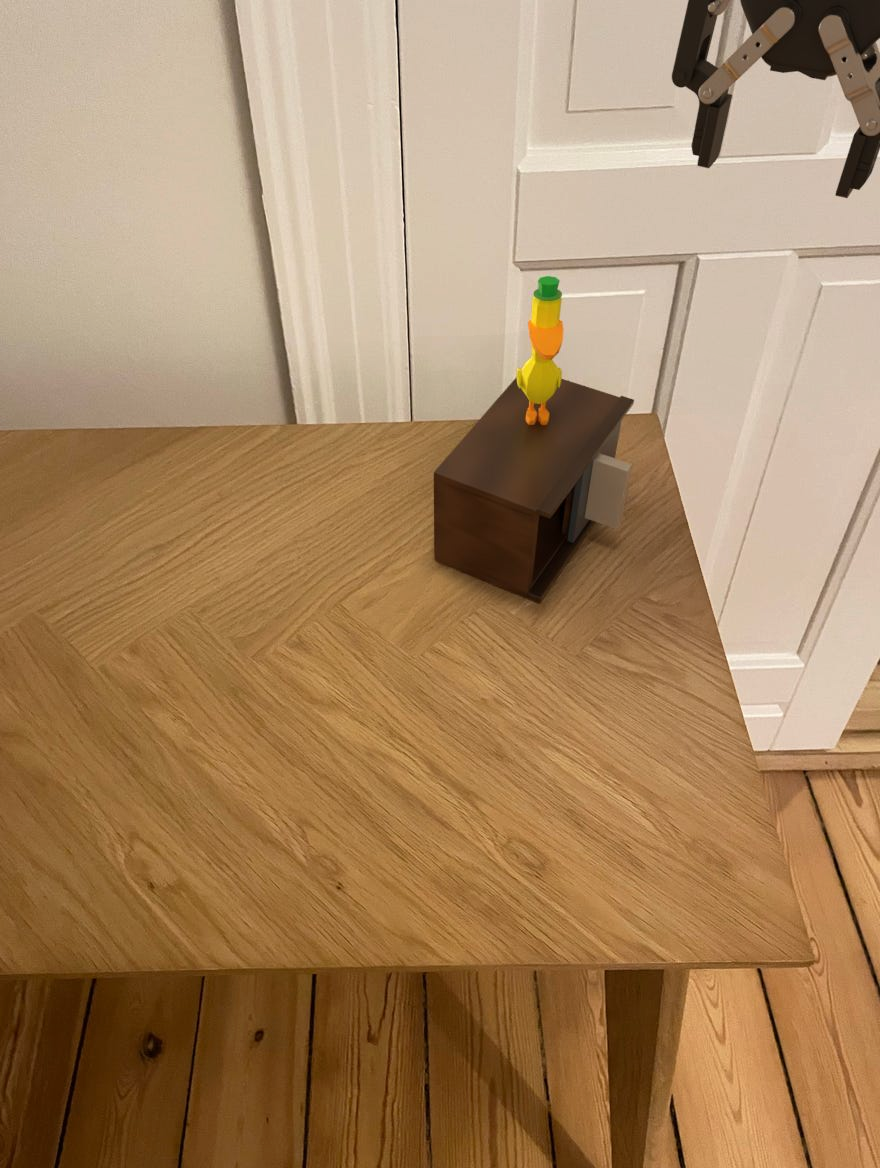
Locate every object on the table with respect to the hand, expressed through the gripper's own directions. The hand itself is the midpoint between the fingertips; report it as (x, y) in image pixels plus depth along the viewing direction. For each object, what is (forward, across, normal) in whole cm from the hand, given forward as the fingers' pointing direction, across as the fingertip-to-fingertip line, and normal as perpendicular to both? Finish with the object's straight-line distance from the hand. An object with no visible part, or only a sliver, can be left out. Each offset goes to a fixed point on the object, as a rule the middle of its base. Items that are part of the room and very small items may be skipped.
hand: (774, 176), depth 60 cm
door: (+31, +6, +1) cm, 32 cm away
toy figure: (+22, +13, +2) cm, 26 cm away
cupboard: (+32, +13, +4) cm, 35 cm away
